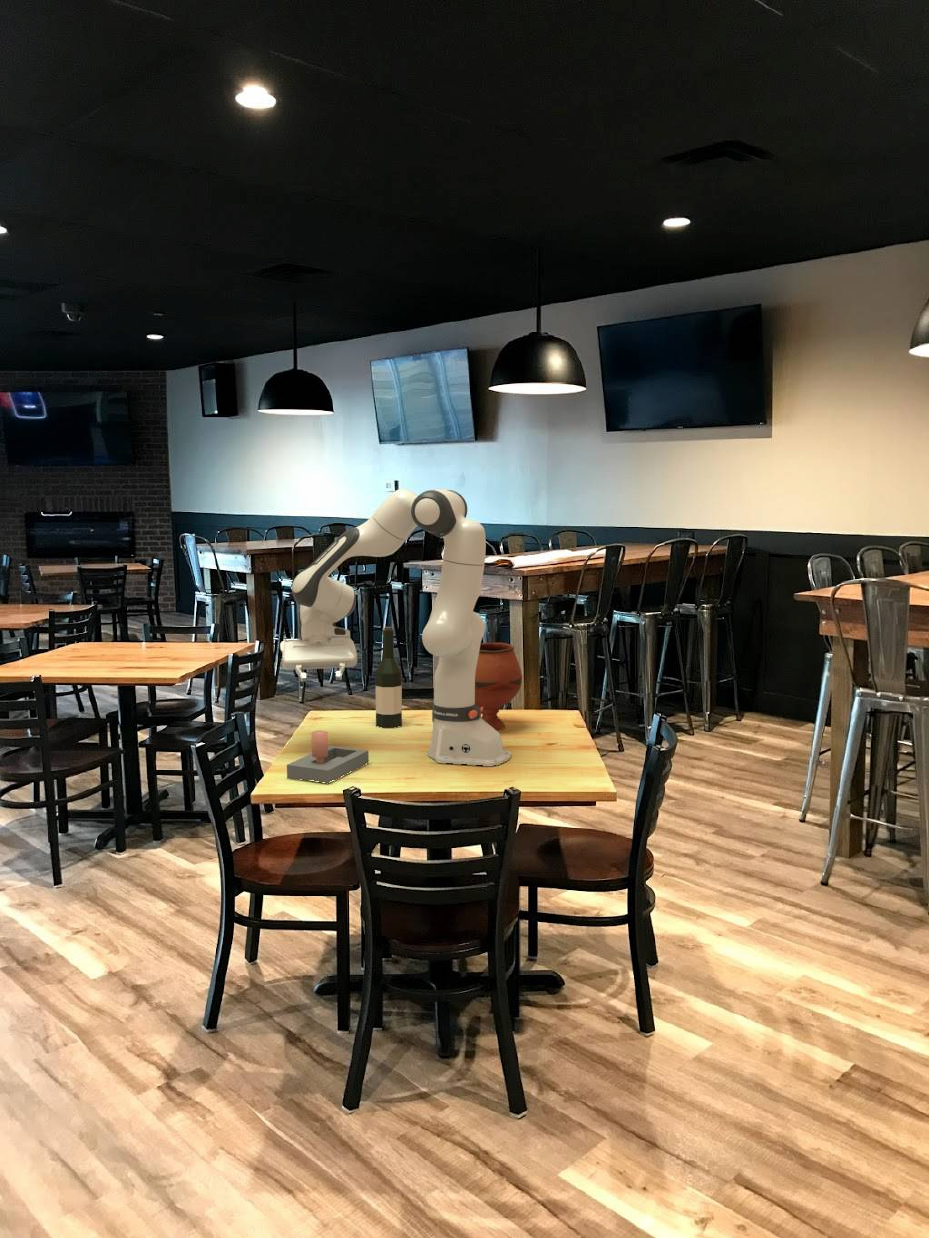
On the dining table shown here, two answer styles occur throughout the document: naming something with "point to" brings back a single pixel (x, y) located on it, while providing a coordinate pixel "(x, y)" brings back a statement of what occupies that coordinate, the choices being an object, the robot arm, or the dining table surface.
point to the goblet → (496, 680)
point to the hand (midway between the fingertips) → (321, 679)
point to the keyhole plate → (328, 764)
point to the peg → (319, 745)
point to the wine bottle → (388, 685)
